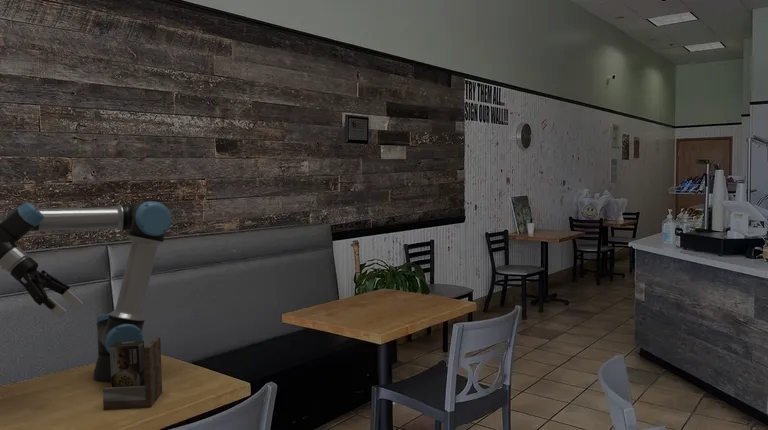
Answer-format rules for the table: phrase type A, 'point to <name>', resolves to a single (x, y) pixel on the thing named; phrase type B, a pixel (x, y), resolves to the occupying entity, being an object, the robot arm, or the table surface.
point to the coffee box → (127, 364)
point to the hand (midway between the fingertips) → (72, 310)
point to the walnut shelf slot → (139, 394)
